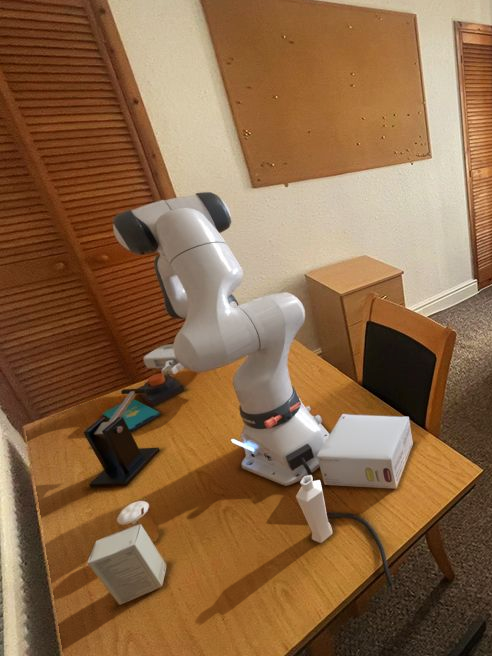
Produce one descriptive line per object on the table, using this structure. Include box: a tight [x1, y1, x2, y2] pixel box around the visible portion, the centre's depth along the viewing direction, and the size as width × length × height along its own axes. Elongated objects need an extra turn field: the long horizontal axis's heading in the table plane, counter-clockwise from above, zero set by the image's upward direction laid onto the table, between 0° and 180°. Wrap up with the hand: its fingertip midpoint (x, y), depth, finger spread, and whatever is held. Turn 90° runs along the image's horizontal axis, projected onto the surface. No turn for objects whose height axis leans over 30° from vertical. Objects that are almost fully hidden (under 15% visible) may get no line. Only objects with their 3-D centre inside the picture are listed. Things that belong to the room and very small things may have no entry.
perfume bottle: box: [295, 475, 334, 544], centre depth 78 cm, size 5×4×15 cm
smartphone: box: [102, 398, 161, 432], centre depth 112 cm, size 7×1×15 cm
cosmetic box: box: [87, 524, 168, 606], centre depth 70 cm, size 6×4×12 cm
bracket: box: [82, 417, 161, 489], centre depth 93 cm, size 10×8×14 cm
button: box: [147, 372, 166, 386], centre depth 119 cm, size 4×4×2 cm
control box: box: [136, 375, 186, 407], centre depth 120 cm, size 10×8×4 cm
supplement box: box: [317, 413, 414, 490], centre depth 94 cm, size 17×13×9 cm
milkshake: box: [116, 500, 160, 544], centre depth 78 cm, size 4×5×10 cm
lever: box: [94, 388, 148, 439], centre depth 95 cm, size 12×6×2 cm, turn 3°
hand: (167, 372), depth 108 cm, fingers closed
